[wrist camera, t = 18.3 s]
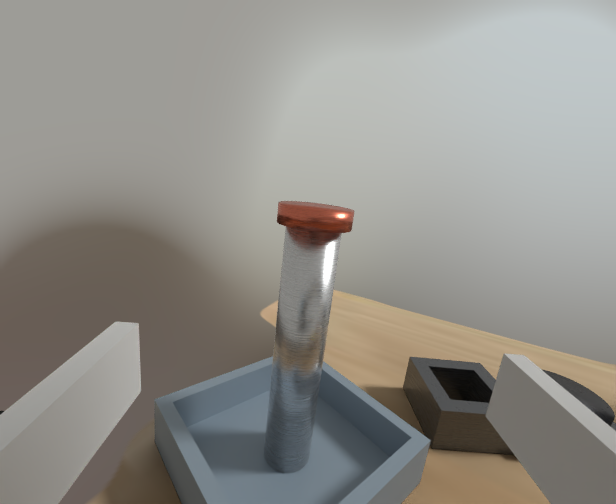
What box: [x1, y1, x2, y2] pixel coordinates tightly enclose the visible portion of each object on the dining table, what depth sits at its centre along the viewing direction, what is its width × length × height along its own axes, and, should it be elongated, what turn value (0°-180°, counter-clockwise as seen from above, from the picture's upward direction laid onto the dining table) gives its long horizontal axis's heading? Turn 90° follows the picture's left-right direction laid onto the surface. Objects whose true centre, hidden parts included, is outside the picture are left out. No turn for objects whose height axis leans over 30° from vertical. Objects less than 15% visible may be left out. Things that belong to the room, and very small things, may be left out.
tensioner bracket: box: [403, 357, 616, 455], centre depth 31 cm, size 20×9×4 cm, turn 91°
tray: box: [155, 356, 431, 504], centre depth 24 cm, size 15×15×4 cm
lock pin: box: [264, 201, 354, 473], centre depth 22 cm, size 5×5×19 cm
